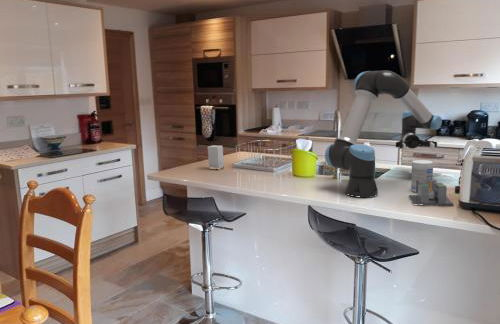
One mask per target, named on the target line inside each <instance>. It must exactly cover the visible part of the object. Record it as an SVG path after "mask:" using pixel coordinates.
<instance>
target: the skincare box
mask: <svg viewBox="0 0 500 324" xmlns="http://www.w3.org/2000/svg"><path fill="white" fill-rule="evenodd" d="M207 157H208V168H209V167H214V168H220V167H223V166H224V167H225V160H224V147H223V145H213V144H212V145H210V146H209V145H208V146H207Z"/></svg>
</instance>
